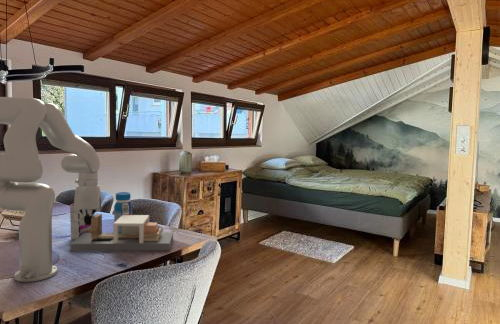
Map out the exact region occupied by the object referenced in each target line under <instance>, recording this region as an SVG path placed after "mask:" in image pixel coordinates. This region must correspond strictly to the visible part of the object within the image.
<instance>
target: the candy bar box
mask: <svg viewBox="0 0 500 324" xmlns="http://www.w3.org/2000/svg"><path fill="white" fill-rule="evenodd" d="M69 214H70V215H69V219H70V240H73V241H75V240H76V239H77V238H78V237H80V236H81V235H82V234H83V233H91V224H90V225H85V223H84V216H83V214H82V213H81V212H78V211H75V208H74V203H71V204H70V205H69ZM88 215H89V210H88ZM94 216H95V213H94V214H93V217H94Z"/></svg>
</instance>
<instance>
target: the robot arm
mask: <svg viewBox="0 0 500 324" xmlns="http://www.w3.org/2000/svg"><path fill="white" fill-rule="evenodd" d="M0 124H2V125H8V126H9V125H10V126H9V127H8V129H7V130H6V132H5V133H4V136H3V146H4V151H5V152H0V209H3V210H5V211H16V212H17V211H18V212H24V215H23V216H22V218H21V219H20V222H19V224H18V247H19V248H18V251H19V257H18V258H19V270H17V271H16V272H15V273H14V274H13V276H14V277H13V278H14V280H15V281H18V282H22V283H27V282H30V283H31V282H32V283H33V282H38V281H43V280H46V279H49V278H51V277H53V276H55V275H56V274H57V273H58V267H57V266H56V265H53V225H52V223H53V221H52V220H53V219H52V218H53V209H54V203H55V199H56V195H55V190H54V189H53V188H52V187H51V186H50V185H48V184H45V183H40V182H37V181H39V180H40V179H41V178H42V176H43V174H44V173H43V170H44V169H43V166H42V165H43V164H42V160H41V158H40V157H41V156H40V153H39V150H38V147H37V140H36V139H37V138H36V137H37V132H38V129H39V128H40V129H41V131H42V132H43V134H44V135H45V137H46V138H47V140H48V141H49V143H50V145H52V146H53V147H55V148H57V149H60V150H62V151H65V152H69V153H71V154H67V155H65V156H64V157H62V160H61V161H60V165H61V168H62V170H63V171H64V172H66V173H69V174H70V173H71V174H72V173H73V174H77V175H78V179H75V180H74V183H75V184H77V185H76V187H75V191H74V192H75V193H74V201H73V204H74V208H75V211H78V212H81V213H82V214H83V216H84V223H85V225H90V224H91V218H92V217H93V214H94V215H95V213H98V212H101V211H102V209H103V208H102V193H101V188H100V184H98V183H99V182H98V180H99V179H98V178H99V177H98V174H99V173H98V171H99V169H100V166H101V162H100V158H99V156H98V153H97V151H96V149H95V148H94V146H92V145H91V144H90V143H89V142H87V141H86V140H84V139H83V138H82V137H80V136H78V135H77V134H75V133H74V132H73V130H72V129H71V127H70V125H69V123H68V122H67V120H66V118H65V117H64V114H63V112H62V111H61V110H60V107H58V105H55V104H54V103H50V102H43V101H42V100H41V99H38V98H34V97H27V96H26V97H22V96H0ZM36 182H37V183H36ZM88 210H89V215H88Z"/></svg>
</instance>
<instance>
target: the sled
mask: <svg viewBox="0 0 500 324" xmlns="http://www.w3.org/2000/svg"><path fill="white" fill-rule="evenodd" d="M102 233H103V213H97V214H94V217H92V218H91V239H97V238H114V234H102ZM161 233H162V227H157V234H144V241H158V240H159V238H160V236H161ZM118 238H139V234H118Z"/></svg>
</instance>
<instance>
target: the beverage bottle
mask: <svg viewBox="0 0 500 324" xmlns="http://www.w3.org/2000/svg"><path fill="white" fill-rule="evenodd" d="M130 200H131V192H127V191H122V192H120V191H119V192H115V204H114V206H113V208H114V210H113V217H114V220H113V221H114V222H113V224H114V223H115V222H116V221H117V220H118V219H119V218H120V217H121V216H122V215H133V209H132V206H133V205H132V203H131V202H130ZM118 233H122V226H118Z"/></svg>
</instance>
